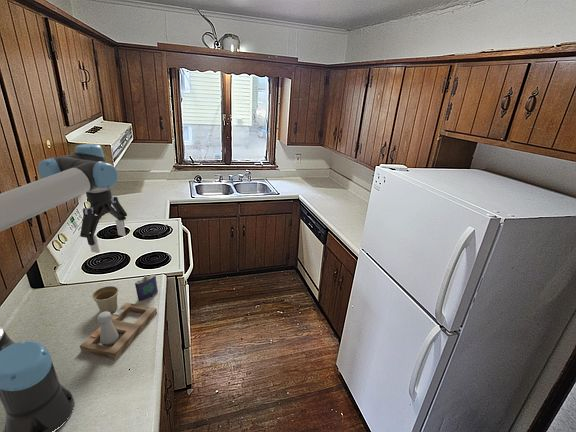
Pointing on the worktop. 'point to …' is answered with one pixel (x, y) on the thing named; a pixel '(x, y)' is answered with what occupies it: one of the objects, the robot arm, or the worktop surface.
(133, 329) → the socket board
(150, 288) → the flask
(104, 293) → the flower pot
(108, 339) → the salt shaker
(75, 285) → the worktop surface
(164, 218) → the worktop surface
